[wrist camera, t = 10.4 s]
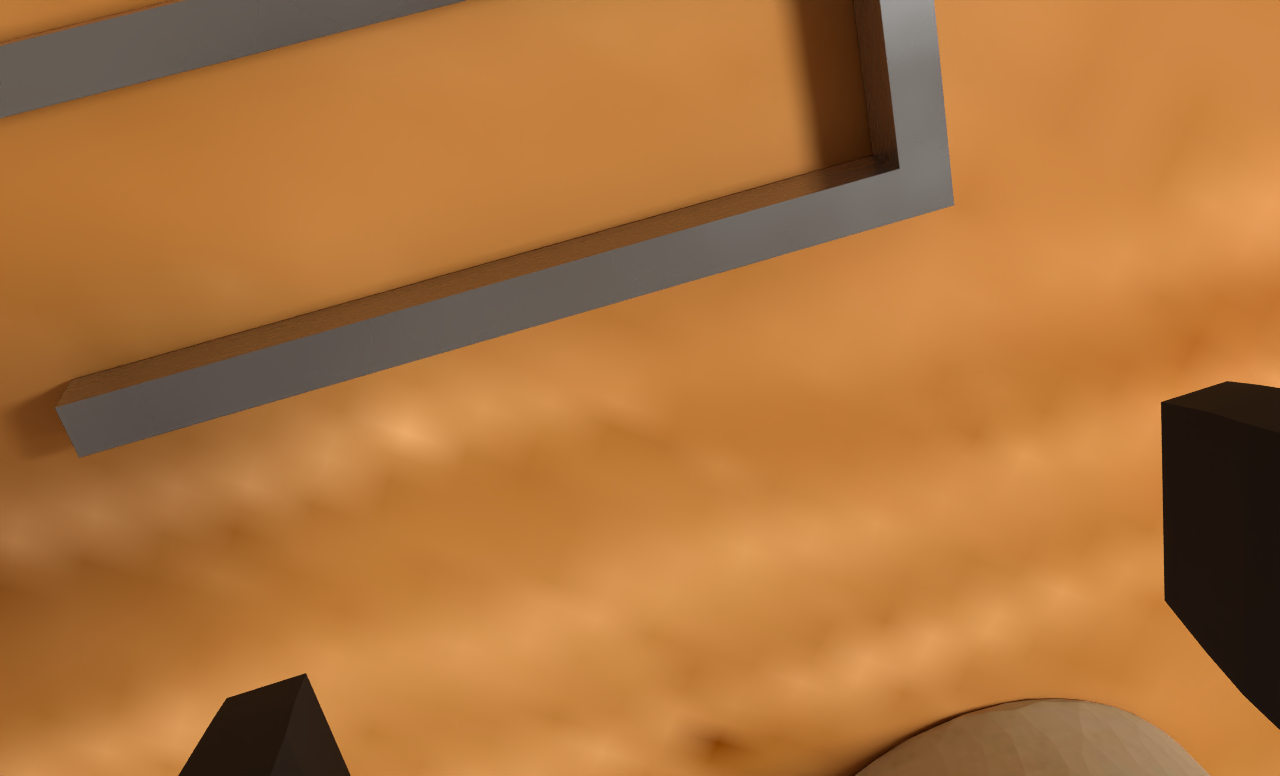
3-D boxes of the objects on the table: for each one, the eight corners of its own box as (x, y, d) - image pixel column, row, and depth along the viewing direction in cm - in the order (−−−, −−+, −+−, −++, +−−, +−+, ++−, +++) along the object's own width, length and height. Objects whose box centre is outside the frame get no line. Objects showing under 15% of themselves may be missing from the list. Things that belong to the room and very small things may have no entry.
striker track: (884, -175, 16) (916, -179, 15) (925, 189, 18) (954, 205, 18) (-82, 61, 15) (-111, 73, 14) (93, 427, 17) (79, 457, 16)
